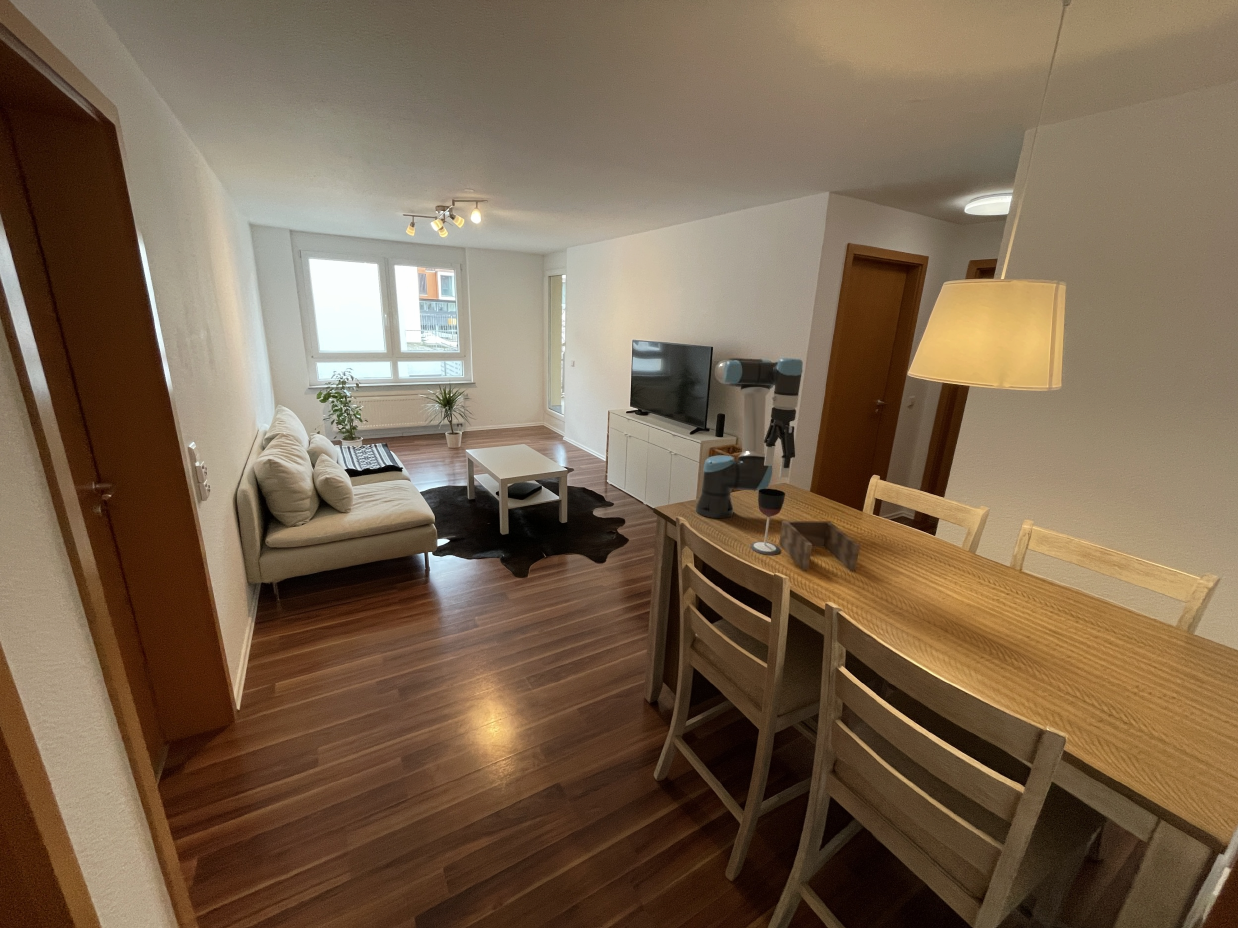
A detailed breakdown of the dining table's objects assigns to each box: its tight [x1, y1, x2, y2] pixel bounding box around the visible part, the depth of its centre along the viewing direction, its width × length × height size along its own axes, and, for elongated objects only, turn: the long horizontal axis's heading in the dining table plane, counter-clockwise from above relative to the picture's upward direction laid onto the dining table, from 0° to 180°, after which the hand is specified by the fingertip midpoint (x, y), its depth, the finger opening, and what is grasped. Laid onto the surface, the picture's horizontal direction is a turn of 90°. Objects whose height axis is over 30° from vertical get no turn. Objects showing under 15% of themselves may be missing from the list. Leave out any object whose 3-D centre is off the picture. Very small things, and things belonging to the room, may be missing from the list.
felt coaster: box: [750, 541, 782, 556], centre depth 171 cm, size 10×10×1 cm
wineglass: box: [754, 488, 786, 551], centre depth 169 cm, size 8×9×20 cm
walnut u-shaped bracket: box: [778, 520, 861, 572], centre depth 165 cm, size 20×17×9 cm
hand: (775, 471), depth 164 cm, fingers open, 13 cm apart
